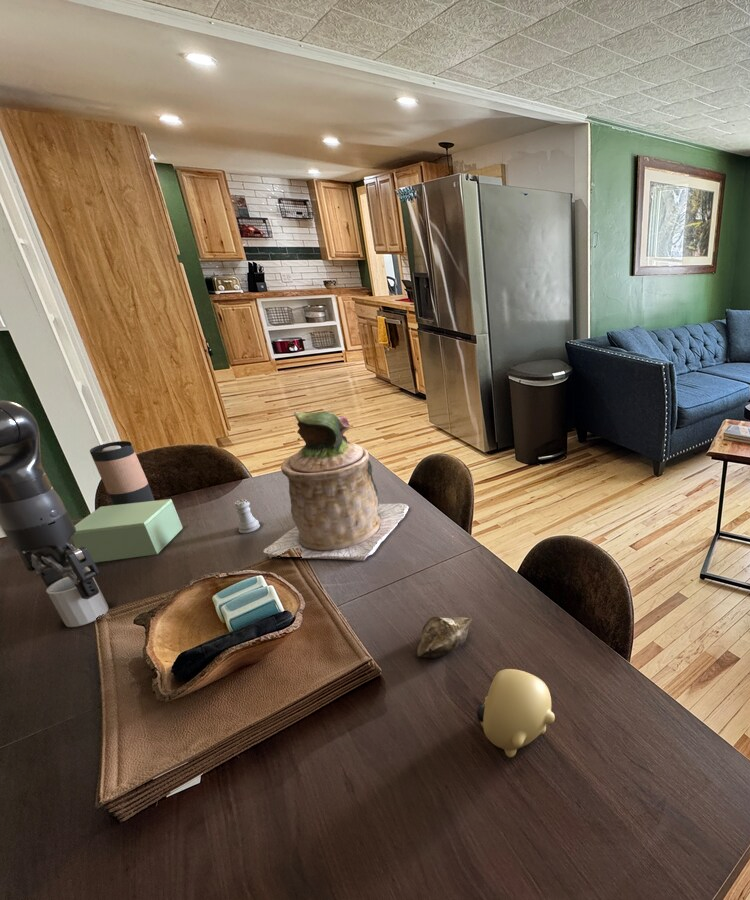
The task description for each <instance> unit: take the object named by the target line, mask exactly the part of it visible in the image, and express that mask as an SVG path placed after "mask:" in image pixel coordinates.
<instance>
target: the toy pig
mask: <svg viewBox="0 0 750 900" xmlns="http://www.w3.org/2000/svg"><path fill="white" fill-rule="evenodd" d="M476 716H477V719H478V721H479V722H480V725H481V727H482V728H483V733H484V736H485V738H486V739H488V741H489V742H490V743H492V744H493V745H494V746H496V747H498V748H500V749H503V750H504V753H505V755H506V756H507V757H508V758H513V757H515V756H516V754H517V750H518V749H522V748H523V747H525V746H527V745H529V744H530V743H532V742H533V741H534V740H536V739H537V738H538V737H539V736H540V735H544V734H545V733H546V731H547V725H550V724H552V723H554V721H555V719H556V716H555V713H554V712H553V711H552V697H551V692H550V689H549V687H548V686H547V684H546V683H545V681H543V680H542V679H540V677H538V676H536V675H534V674H532V673H529V672H527V671H524V670H520V669H516V668H506V669H505V668H504V669H501V670H499V671H498V672H497V673H496V674H495V676H494V678H493V680H492V681H491V684H490V687H489V690H488V692H487V696H485V697H484V702H483V703H482V704H480V706H479V707H478V708H477V711H476Z"/></svg>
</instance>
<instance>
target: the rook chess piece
mask: <svg viewBox="0 0 750 900" xmlns="http://www.w3.org/2000/svg"><path fill="white" fill-rule="evenodd" d="M250 504H251V502H249V501H248V500H247V499H246V498H244V499H243V498H242V499H239V500H236V501H234V505H233V508H234V509H236V513H237V515H238V519H239V522H238V525H237V529H238V532H239V533H240V534H249V533H252V532H255V531H257V530H258V529H260V526H261V524H260V523H259V520H257V519H256V517H254V516H253V514H252V512H251V507H250Z"/></svg>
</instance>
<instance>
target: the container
mask: <svg viewBox="0 0 750 900" xmlns="http://www.w3.org/2000/svg"><path fill="white" fill-rule="evenodd" d="M183 528H184V527H183V525H182V522H181V520H180V517H179V515H178V512H177V510H176V507H175V505H174V502H173V501H172V502H171V503H170V504H169V505H168V506H167V507H166V508H165V509H164V510H162V511H161V512H160V513H159V514H158V515H157V516H156V517H155V518H153V519H152V520H151V521H150V522H149V523H148V524H147V525H146V526H140V527H131V528H123V529H115V530H106V531H98V532H90V533H81V534H73V535H72V536H71V537H70V539H71V541H72V542H73V546H74V547H75V548H76V549H78V548H80V547H82V546H84V547H85V548H87V550H88V552H89V554H90V556H91V558H92V559H93V561H94V563H95V564H96V563H101V562H110V561H116V560H117V561H118V560H126V559H131V558H139V557H146V556H147V557H148V556H154V555H158V554H159V553H160V552H161V551H163V550H164V548H165V547H166V546H167V545H168V544H169V543H170V542H171V541H173V539H174V538H175V537H176V536H177V535H178V534H179V533H180V532H181V531H182V530H183Z"/></svg>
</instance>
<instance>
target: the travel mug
mask: <svg viewBox="0 0 750 900" xmlns="http://www.w3.org/2000/svg"><path fill="white" fill-rule="evenodd" d="M89 453H90V455H91V458H92V461H93V463H94V466H95V467H96V470H97V471H98V474H99V476H100V478H101V481H102V483H103V485H104V488H105V490H106V493H107V494H108V496H109V499H110V501H111V502H112V505H121V504H130V503H139V502H148V501H156V500H155V497H154V495H153V491H152V490H151V487H150V484H149V482H148V479H147V477H146V474H145V472H144V470H143V467H142V464H141V463H140V460H139V458H138V456H137V453H136V451H135V449H134V447H133V444H132V442H130V441H128V440H121V441H120V440H119V441H112V442H111V441H110V442H106V443H103V444H99V445H96V446H93V447H92V448H90V449H89Z"/></svg>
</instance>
